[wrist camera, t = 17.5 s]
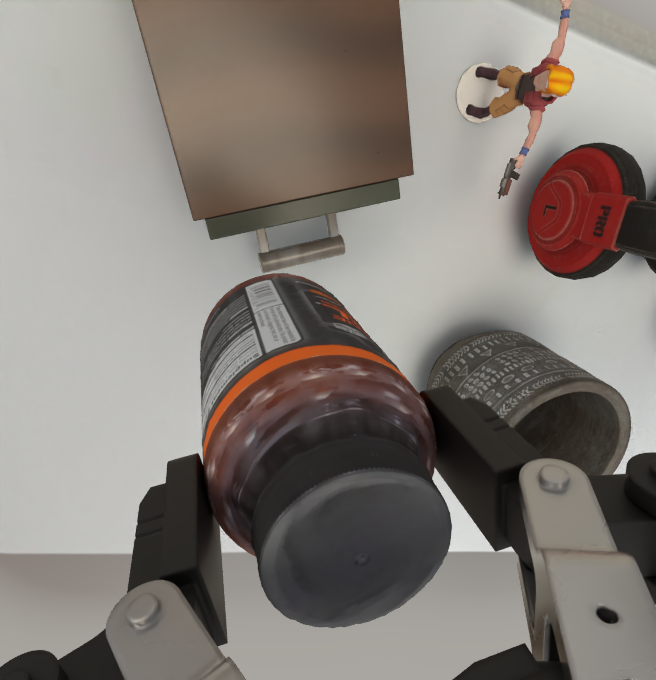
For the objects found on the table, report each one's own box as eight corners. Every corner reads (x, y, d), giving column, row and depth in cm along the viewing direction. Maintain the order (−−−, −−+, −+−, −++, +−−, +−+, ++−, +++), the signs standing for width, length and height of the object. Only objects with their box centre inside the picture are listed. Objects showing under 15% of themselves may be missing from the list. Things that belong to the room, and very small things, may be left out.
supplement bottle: (374, 337, 21) (548, 533, 11) (273, 429, 21) (346, 701, 11) (278, 234, 18) (388, 367, 8) (165, 343, 18) (133, 598, 8)
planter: (475, 448, 50) (560, 541, 38) (384, 405, 45) (450, 497, 33) (548, 350, 47) (661, 418, 36) (460, 293, 42) (560, 351, 31)
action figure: (474, 193, 39) (551, 209, 31) (442, 187, 38) (512, 201, 30) (520, 22, 35) (623, -12, 27) (486, 11, 34) (581, -28, 26)
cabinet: (364, 166, 36) (414, 174, 28) (192, 201, 34) (193, 221, 26) (333, -85, 30) (385, -165, 22) (120, -61, 28) (92, -140, 20)
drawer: (370, 239, 38) (406, 260, 31) (220, 274, 36) (227, 303, 29) (334, -38, 30) (372, -84, 24) (143, -13, 28) (130, -56, 22)
